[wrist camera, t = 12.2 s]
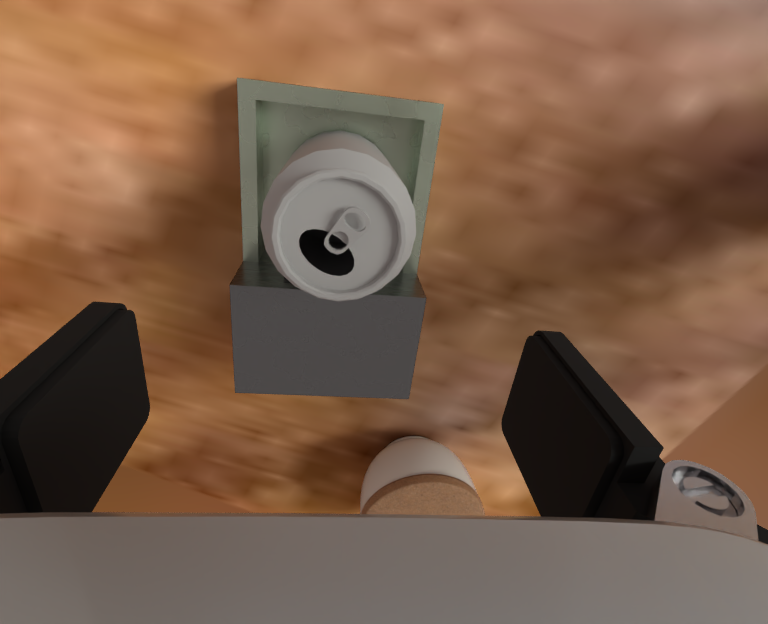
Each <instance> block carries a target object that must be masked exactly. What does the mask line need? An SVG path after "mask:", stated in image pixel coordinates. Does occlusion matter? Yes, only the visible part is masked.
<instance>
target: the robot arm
mask: <svg viewBox="0 0 768 624" xmlns="http://www.w3.org/2000/svg"><path fill="white" fill-rule="evenodd" d="M149 411H150V403H149V397H148V391H147V385H146V379H145V373H144V366H143V360H142V354H141V348H140V342H139V336H138V330H137V324H136V318H135V314H134V312H133V311H131V310H127V308H126V307H125V305H124V304H121V303H106V302H92V303H91V304H89V305H88V306H87V307H86V308H85V309H83V310H82V311H81V312H80V313H79V314H77V315H76V316H75V317H74V318H73V319H72V320H70V321H69V322H68V323H67V324H66V325H64V326H63V327H62V328H61V329H60V330H58V331H57V332H56V333H55V334H54V335H52V336H51V337H50V338H49V339H48V340H47V341H45V342H44V343H43V344H42V345H41V346H39V347H38V348H37V349H36V350H35V351H33V352H32V353H31V354H30V355H29V356H27V357H26V358H25V359H24V360H23V361H22V362H20V363H19V364H18V365H17V366H16V367H14V368H13V369H12V370H11V371H10V372H8V373H7V374H6V375H5V376H4V377H2V378H1V379H0V624H768V530H767V529H765V528H763V527H761V526H759V525H757V523H756V513H755V510H754V507H753V505H752V503H751V501H750V500H749V499H748V497H747V496H746V494H745V493H744V492H743V491H742V490H741V489H740V488H738V487H737V486H736V485H735V484H734V483H733V482H732V481H730V480H729V479H727V478H726V477H724V476H723V475H721V474H720V473H718V472H716V471H714V470H712V469H710V468H708V467H706V466H703V465H700V464H697V463H695V462H690V461H685V460H673V461H671V462H668V463H666V464H665V463H664V462H663V461H662V460H661V458H660V457H659V455H660V454H661V452H662V450H663V446H662V445H661V444H660V443H659V442H658V441H657V440H656V438H655V437H654V436H653V435H652V434H651V433H650V432H649V431H648V429H647V428H646V427H645V426H644V425H643V424H642V423H641V421H640V420H639V419H638V418H637V417H636V416H635V415H634V414H633V412H632V411H631V410H630V409H629V408H628V407H627V406H626V405H625V403H624V402H623V401H622V400H621V399H620V398H619V397H618V395H617V394H616V393H615V392H614V391H613V390H612V389H611V388H610V386H609V385H608V384H607V383H606V382H605V381H604V380H603V378H602V377H601V376H600V375H599V374H598V373H597V372H596V371H595V369H594V368H593V367H592V366H591V365H590V364H589V363H588V361H587V360H586V359H585V358H584V357H583V356H582V355H581V354H580V352H579V351H578V350H577V349H576V348H575V347H574V346H573V344H572V343H571V342H570V341H569V340H568V339H567V338H566V337H565V335H564V334H563V333H561V332H553V331H536V332H535V333H534V335H533V336H529V337H528V338H527V340H526V342H525V346H524V349H523V352H522V355H521V359H520V362H519V365H518V368H517V372H516V375H515V378H514V381H513V385H512V388H511V391H510V394H509V398H508V401H507V404H506V408H505V411H504V414H503V417H502V431H503V434H504V436H505V438H506V440H507V443H508V445H509V447H510V449H511V451H512V454H513V456H514V458H515V460H516V462H517V465H518V467H519V469H520V471H521V473H522V476H523V478H524V480H525V482H526V484H527V487H528V489H529V491H530V493H531V495H532V498H533V500H534V502H535V504H536V506H537V509H538V511H539V513H540V515H541V517H537V516H475V515H407V514H312V513H144V512H135V513H134V512H130V513H129V512H126V513H125V512H94V513H93V512H92V511H93V509H94V507H95V506H96V504H97V502H98V501H99V499H100V498H101V496H102V494H103V492H104V491H105V489H106V487H107V486H108V484H109V483H110V481H111V479H112V478H113V476H114V474H115V473H116V471H117V469H118V467H119V466H120V464H121V463H122V461H123V459H124V458H125V456H126V454H127V453H128V451H129V449H130V448H131V446H132V444H133V443H134V441H135V439H136V438H137V436H138V434H139V433H140V431H141V429H142V428H143V426H144V424H145V423H146V421H147V419H148V416H149Z"/></svg>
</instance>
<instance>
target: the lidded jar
mask: <svg viewBox="0 0 768 624" xmlns="http://www.w3.org/2000/svg"><path fill="white" fill-rule="evenodd" d="M360 514H407V515H475V516H485V513H484V508H483V505H482V502H481V500H480V498H479V496H478V494H477V492H476V489H475V486H474V484H473V481H472V479H471V477H470V475H469V473H468V471H467V469H466V468H465V466H464V465H463V463H462V462H461V460H460V459H459V458H458V457H457V456H456V455H455V454H454V453H453V452H452V451H451V450H450V449H449V448H447V447H445V446H444V445H442V444H440V443H438V442H436V441H433V440H430V439H428V438H425V437H421V436H406V437H402V438H399V439H397V440H395V441H393V442H391V443H390V444H389V445H388V446H387V447H386V448H385V449H383V450H382V451H381V452H380V453H379V454H378V455H377V456H376V457H375V458H374V460H373V461H372V462H371V464H370V465H369V467H368V470H367V472H366V474H365V477H364V481H363V485H362V489H361V500H360Z"/></svg>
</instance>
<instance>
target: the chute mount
mask: <svg viewBox="0 0 768 624" xmlns="http://www.w3.org/2000/svg"><path fill="white" fill-rule="evenodd" d="M237 93H238V122H239V152H240V181H241V211H242V240H243V262H242V264H241V266H240V268H239V269H238V271H237V273H236V275H235V276H234V278H233V280H232V282H231V283H230V302H231V322H232V341H233V361H234V381H235V393H257V394H284V395H312V396H339V397H366V398H394V399H409V395H410V389H411V383H412V377H413V372H414V366H415V360H416V355H417V349H418V343H419V338H420V332H421V326H422V321H423V315H424V309H425V303H426V296H425V293H424V291H423V289H422V286H421V284H420V281H419V279H418V276H417V269H418V263H419V256H420V250H421V244H422V238H423V231H424V225H425V219H426V213H427V206H428V200H429V194H430V188H431V182H432V175H433V169H434V163H435V157H436V150H437V144H438V138H439V132H440V125H441V119H442V113H443V107H444V104H439V103H432V102H424V101H416V100H409V99H401V98H393V97H385V96H377V95H370V94H362V93H354V92H346V91H338V90H331V89H323V88H315V87H307V86H299V85H292V84H284V83H276V82H268V81H260V80H253V79H244V78H237ZM339 130H342V131H346V132H350V133H354V134H359V135H361V136H362V137H364V138H365V139H367V140H368V141H370V142H372V143H373V144H375V145H376V146H377V148H378V149H379V150H380V151H381V153H382V154H383V155H384V156H385V157H386V159H387V160H388V162H389V163H390V164H391V166H392V167H393V169H394V170H395V172H396V173H397V175H398V176H399V178H400V179H401V181H402V182H403V184H404V185H405V186H406V188H407V191H408V193H409V196H410V199H411V201H412V204H413V206H414V209H415V219H416V237H415V240H414V244H413V248H412V251H411V255H410V257H409V259H408V260H407V262H406V263H405V265H404V266H403V268H402V269H401V271H400V272H399V274H398V275H397V276H396V277H395V278H393V279H392V280H391V281H390V282H389V283H387V284H386V285H385V286H384V287H383V288H381V289H380V290H378V291H376V292H374V293H372V294H369V295H367V296H365V297H362V298H360V299H355V300H346V301H333V300H327V299H321V298H317V297H315V296H313V295H311V294H309V293H307V292H305V291H303V290H301V289H299V288H297V287H295V286H294V285H293V284H292V283H291V282H290V281H289V280H287V279H286V278H285V277H284V276H283V275H282V274H281V273H280V272H279V271H278V270H277V268H276V267H275V265H274V263H273V262H272V260H271V258H270V257H269V255H268V253H267V252H266V249H265V244H264V240H263V235H262V231H261V219H262V210H263V202H264V200H265V198H266V196H267V194H268V192H269V190H270V188H271V186H272V183H273V181H274V180H275V178H276V177H277V175H278V174H279V172H280V171H281V170H282V168H283V167H284V165H285V164H286V163H287V161H288V160H289V158H290V157H291V155H292V154H293V153H294V152H295V151H296V150H297V149H298V148H299V147H300V146H301V145H302V144H303V143H304V142H305V141H306V140H307V139H309V138H311V137H314V136H316V135H318V134H320V133H322V132H329V131H339Z"/></svg>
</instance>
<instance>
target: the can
mask: <svg viewBox="0 0 768 624" xmlns="http://www.w3.org/2000/svg"><path fill="white" fill-rule="evenodd" d="M261 231H262V235H263V240H264V244H265V249H266V252H267V253H268V255H269V257H270V258H271V260H272V262H273V263H274V265H275V267H276V268H277V270H278V271H279V272H280V273H281V274H282V275H283V276H284V277H285V278H286V279H287V280H289V281H290V282H291V283H292V284H293V285H294V286H295V287H297V288H299V289H301V290H303V291H305V292H307V293H309V294H311V295H313V296H315V297H317V298H321V299H327V300H333V301H346V300H355V299H360V298H362V297H365V296H367V295H369V294H372V293H374V292H376V291H378V290H380V289H381V288H383V287H384V286H385V285H386V284H387V283H389V282H390V281H391V280H392V279H393V278H395V277H396V276H397V275H398V274H399V272H400V271H401V269H402V268H403V266H404V265H405V263H406V262H407V260H408V259H409V257H410V255H411V251H412V248H413V244H414V240H415V237H416V219H415V209H414V206H413V204H412V201H411V199H410V196H409V193H408V191H407V188H406V186H405V185H404V184H403V182H402V181H401V179H400V178H399V176H398V175H397V173H396V172H395V170H394V169H393V167H392V166H391V164H390V163H389V162H388V160H387V159H386V157H385V156H384V155H383V154H382V153H381V151H380V150H379V149H378V148H377V146H376V145H375V144H373V143H372V142H370V141H368V140H367V139H365V138H364V137H362V136H361V135H359V134H354V133H350V132H346V131H342V130H339V131H329V132H322V133H320V134H318V135H316V136H314V137H311V138H309V139H307V140H306V141H305V142H304V143H303V144H302V145H301V146H300V147H299V148H298V149H297V150H296V151H295V152H294V153H293V154H292V155H291V157H290V158H289V160H288V161H287V163H286V164H285V165H284V167H283V168H282V170H281V171H280V172H279V174H278V175H277V177H276V178H275V180H274V181H273V183H272V186H271V188H270V190H269V192H268V194H267V196H266V198H265V200H264V202H263V210H262V219H261Z"/></svg>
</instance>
